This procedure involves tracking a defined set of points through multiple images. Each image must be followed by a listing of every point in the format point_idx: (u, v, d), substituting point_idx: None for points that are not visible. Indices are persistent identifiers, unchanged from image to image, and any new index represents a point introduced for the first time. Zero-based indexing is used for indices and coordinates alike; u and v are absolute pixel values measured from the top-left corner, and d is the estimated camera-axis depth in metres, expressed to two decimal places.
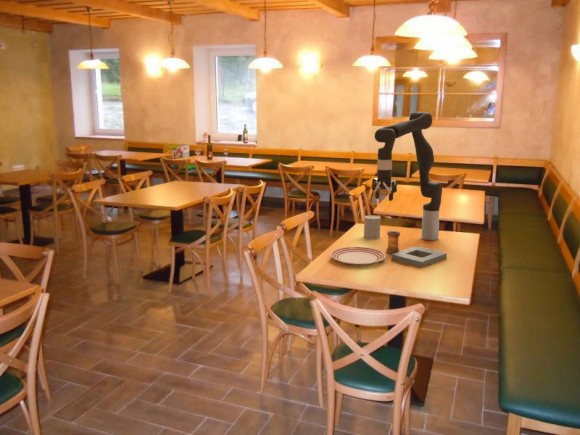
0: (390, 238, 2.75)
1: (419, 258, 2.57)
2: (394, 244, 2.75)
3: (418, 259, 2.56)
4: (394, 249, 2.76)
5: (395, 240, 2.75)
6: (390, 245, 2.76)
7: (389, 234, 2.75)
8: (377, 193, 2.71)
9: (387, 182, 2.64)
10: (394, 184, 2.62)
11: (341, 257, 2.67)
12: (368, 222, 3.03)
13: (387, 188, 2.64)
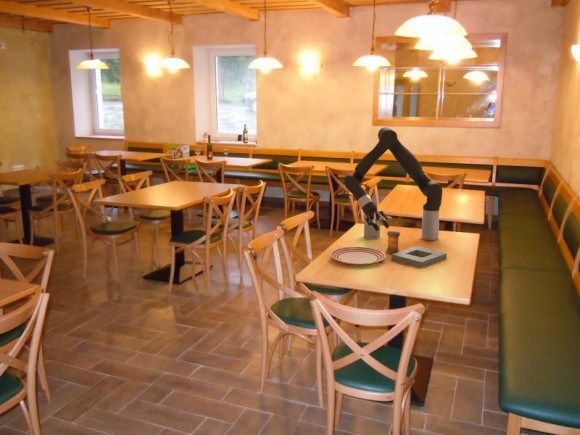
0: (390, 238, 2.75)
1: (419, 258, 2.57)
2: (394, 244, 2.75)
3: (418, 259, 2.56)
4: (394, 249, 2.76)
5: (395, 240, 2.75)
6: (390, 245, 2.76)
7: (389, 234, 2.75)
8: (384, 224, 2.85)
9: None
10: (366, 218, 2.80)
11: (341, 257, 2.67)
12: None
13: None
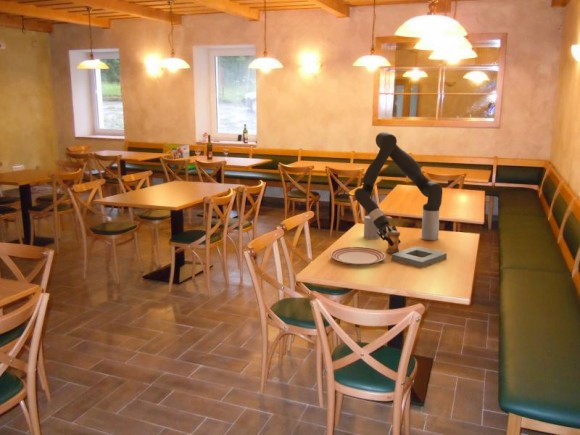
0: (390, 238, 2.75)
1: (419, 258, 2.57)
2: (394, 244, 2.75)
3: (418, 259, 2.56)
4: (394, 249, 2.76)
5: (395, 240, 2.75)
6: None
7: (389, 234, 2.75)
8: None
9: None
10: (379, 233, 2.75)
11: (341, 257, 2.67)
12: (368, 222, 3.03)
13: (384, 236, 2.78)
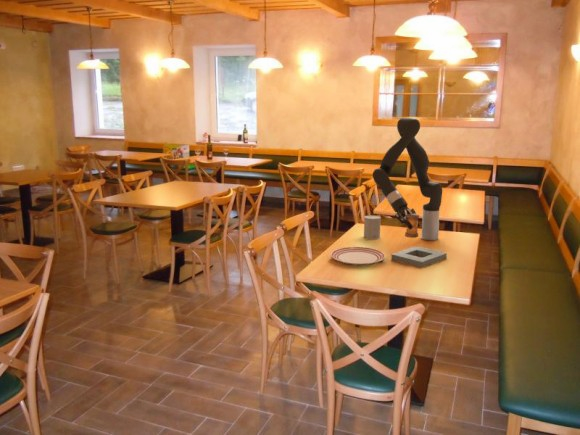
0: (409, 221, 2.64)
1: (419, 258, 2.57)
2: (413, 227, 2.63)
3: (418, 259, 2.56)
4: (413, 233, 2.64)
5: (414, 223, 2.63)
6: None
7: (408, 217, 2.63)
8: None
9: None
10: (397, 216, 2.64)
11: (341, 257, 2.67)
12: (368, 222, 3.03)
13: None
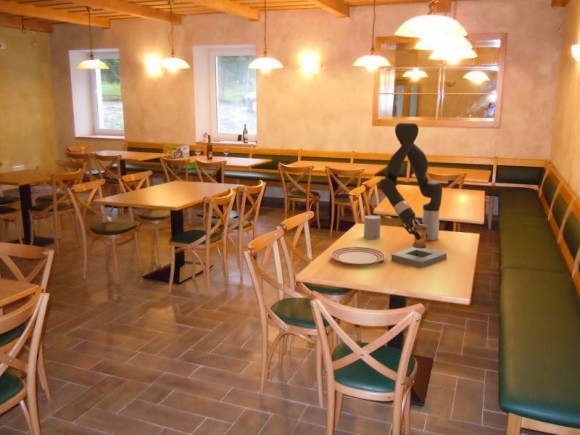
0: None
1: (419, 258, 2.57)
2: (421, 238, 2.61)
3: (418, 259, 2.56)
4: (421, 243, 2.61)
5: (422, 234, 2.60)
6: None
7: (416, 227, 2.60)
8: None
9: None
10: (405, 227, 2.61)
11: (341, 257, 2.67)
12: (368, 222, 3.03)
13: (410, 230, 2.64)
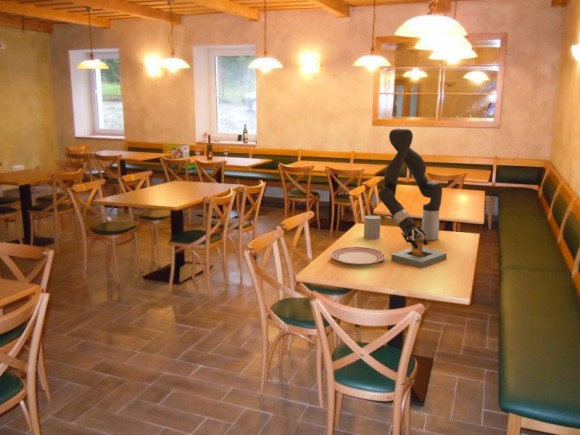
0: None
1: (419, 258, 2.57)
2: (418, 250, 2.64)
3: (418, 259, 2.56)
4: (418, 255, 2.64)
5: (419, 246, 2.63)
6: (414, 251, 2.64)
7: None
8: None
9: None
10: (403, 235, 2.62)
11: (341, 257, 2.67)
12: (368, 222, 3.03)
13: None
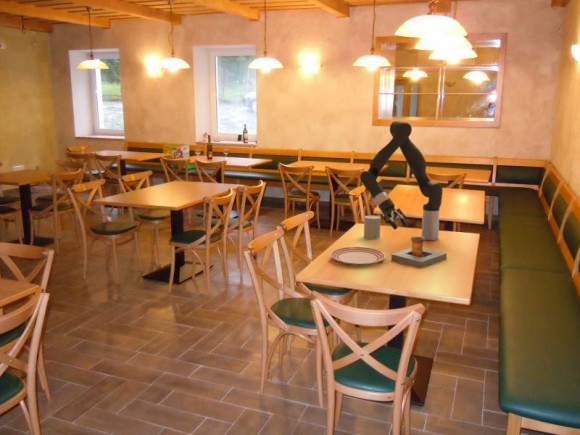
0: (414, 244, 2.64)
1: (419, 258, 2.57)
2: (418, 250, 2.64)
3: (418, 259, 2.56)
4: (418, 255, 2.64)
5: (419, 246, 2.63)
6: (414, 251, 2.64)
7: (413, 240, 2.63)
8: (402, 222, 2.75)
9: None
10: (383, 216, 2.70)
11: (341, 257, 2.67)
12: (368, 222, 3.03)
13: None
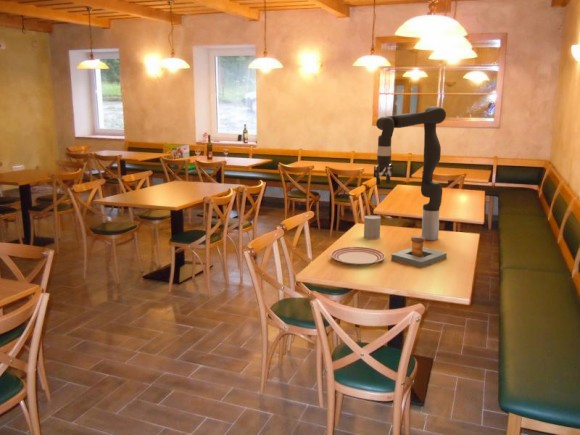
0: (414, 244, 2.64)
1: (419, 258, 2.57)
2: (418, 250, 2.63)
3: (418, 259, 2.56)
4: (418, 255, 2.64)
5: (419, 246, 2.63)
6: (414, 251, 2.64)
7: (413, 240, 2.63)
8: (387, 178, 2.89)
9: None
10: (375, 169, 2.81)
11: (341, 257, 2.67)
12: (368, 222, 3.03)
13: None
